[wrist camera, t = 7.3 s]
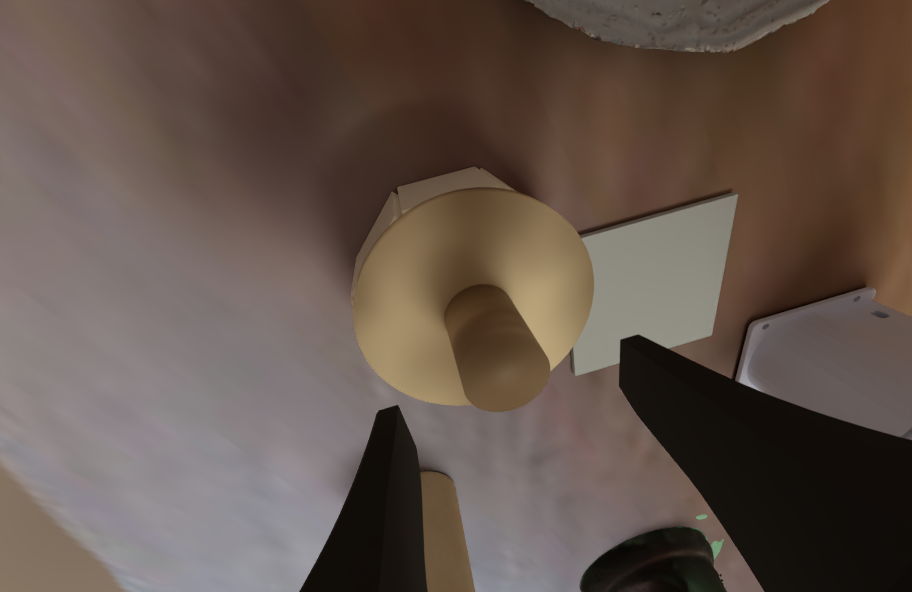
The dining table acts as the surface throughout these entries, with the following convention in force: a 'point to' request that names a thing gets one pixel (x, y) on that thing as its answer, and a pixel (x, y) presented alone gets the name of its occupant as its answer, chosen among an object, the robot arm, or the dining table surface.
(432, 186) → the bowl
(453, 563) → the candle
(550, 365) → the lid
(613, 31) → the food plate
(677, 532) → the black rounded piece
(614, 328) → the mat
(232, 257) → the dining table surface
